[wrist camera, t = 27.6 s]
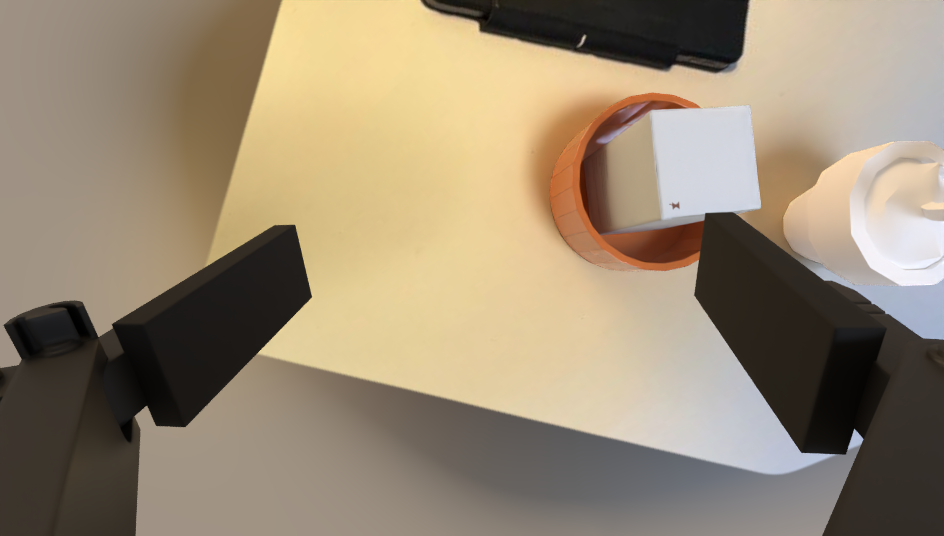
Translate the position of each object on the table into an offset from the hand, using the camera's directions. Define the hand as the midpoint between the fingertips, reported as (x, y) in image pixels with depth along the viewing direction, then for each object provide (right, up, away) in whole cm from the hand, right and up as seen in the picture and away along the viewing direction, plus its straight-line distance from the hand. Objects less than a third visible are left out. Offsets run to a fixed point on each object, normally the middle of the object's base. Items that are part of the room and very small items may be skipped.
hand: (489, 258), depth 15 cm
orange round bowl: (+14, +6, +28) cm, 32 cm away
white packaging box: (+13, +7, +28) cm, 32 cm away
